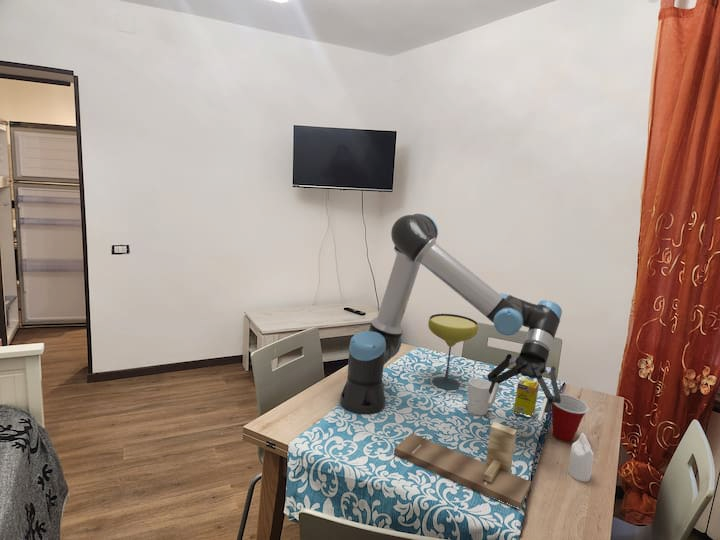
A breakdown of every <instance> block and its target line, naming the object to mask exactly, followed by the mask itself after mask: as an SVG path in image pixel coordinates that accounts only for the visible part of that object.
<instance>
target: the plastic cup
mask: <svg viewBox="0 0 720 540" xmlns="http://www.w3.org/2000/svg"><path fill="white" fill-rule="evenodd" d="M559 394H560V398H561V402H560V403H553V404H552V406H551V423H552V424H551V425H552V435H553V437H554V439H557V440H559V441H561V442H565V443H571V442H572V441H573V440H574V438H575V436H576V433H578V432H577V431H578V429H579V427H580V425H581V422H582V420H583V418H584V416H585V414H587V413H588V412H589V406H588V404H587V403H585V401H583V400H582V399H579V398H577V397H575V396H573V395H569V394H565V393H559ZM551 395H552V396H555V395H554V394H551Z"/></svg>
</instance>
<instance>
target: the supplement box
mask: <svg viewBox="0 0 720 540" xmlns="http://www.w3.org/2000/svg"><path fill="white" fill-rule="evenodd" d="M539 386H540V384H539V382H538V381H535V380H530V379H528V378H523V377H521V379H520V380H519V381H518V383H517V387H516V392H515V393H516V394H515V400H514V405H513V411H514V412H517V413H522V414H526V415H530V416H531V415H532V413H533V412H534V413H535V411H534V410H536V405H537V398H538V393H539V392H538V391H539ZM534 413H533V414H534ZM532 416H533V415H532Z"/></svg>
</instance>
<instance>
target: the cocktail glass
mask: <svg viewBox="0 0 720 540" xmlns="http://www.w3.org/2000/svg"><path fill="white" fill-rule="evenodd" d="M428 329H429V331H430V332H431V333H432V334H433V335H435V336H436V337H438V338H439V339H441V340H443V341H444V342H445V343H446V345H447V346H448V355H447V356H448V357H447V364H446V370H445V375H444V376H436V377H434V378H432V379H431V383H432V384H433V386H435V387H437V388H440V389H443V390H450V391H451V390H457V389H459V388H460V387H461V383H460V382H459V381H458V380H456V379H454V378H452V377H449V368H450V360H451V351H452V347H454V346H455V345H457V343H461V342H464V341H468V340H470V339H472V338H474V337H475V336H476V335H477V333H478V330H479V324H478V322H477V321H476V320H474V319H472V318H470V317H468V316H467V317H466V316H463V315H459V314H451V313H437V314H432V315H431V316H430V317H429V319H428Z"/></svg>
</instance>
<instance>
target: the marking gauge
mask: <svg viewBox="0 0 720 540" xmlns="http://www.w3.org/2000/svg"><path fill="white" fill-rule="evenodd" d="M489 430H490V431H489V437H488V444H487V450H486V451H487V452H486V457H485V458H486V460H485V463H487V464H489V465H490V466H489V467H488V469H487V470H486V472H485V473H484V477H483V480H486V481H488V482H490V483H491V482H492V480H493V479H494V477H495V476H496V474H497V473H498V471H499V470H500V469H501V470H504V471H506V472H509V473H511V472H512V466H513V460H514V455H515V454H514V453H515V447H516V440H517V433H518V429H515V428H513V427H510V426H507V425H504V424H500V423H498V422H496V421H495V422H493V423H492V425H490V429H489ZM510 471H511V472H510Z"/></svg>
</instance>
